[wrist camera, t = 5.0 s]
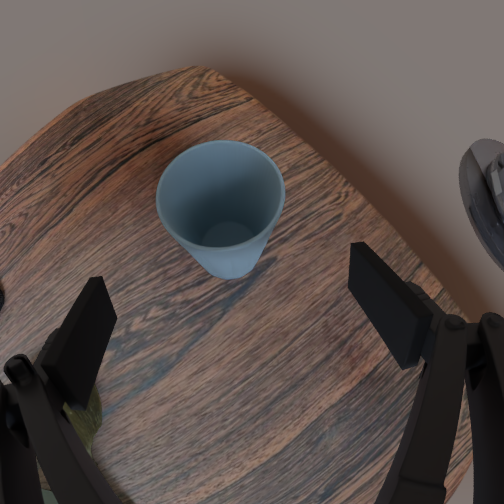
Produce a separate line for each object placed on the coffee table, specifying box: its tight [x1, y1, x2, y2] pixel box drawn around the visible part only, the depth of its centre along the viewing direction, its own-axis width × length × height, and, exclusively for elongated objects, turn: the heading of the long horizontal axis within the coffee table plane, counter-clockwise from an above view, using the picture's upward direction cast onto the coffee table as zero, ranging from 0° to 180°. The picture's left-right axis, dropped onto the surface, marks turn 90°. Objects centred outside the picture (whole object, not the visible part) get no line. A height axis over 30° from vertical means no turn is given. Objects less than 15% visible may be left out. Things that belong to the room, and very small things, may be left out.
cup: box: [156, 140, 285, 280], centre depth 23 cm, size 8×8×10 cm
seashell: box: [63, 383, 102, 466], centre depth 20 cm, size 10×7×10 cm
